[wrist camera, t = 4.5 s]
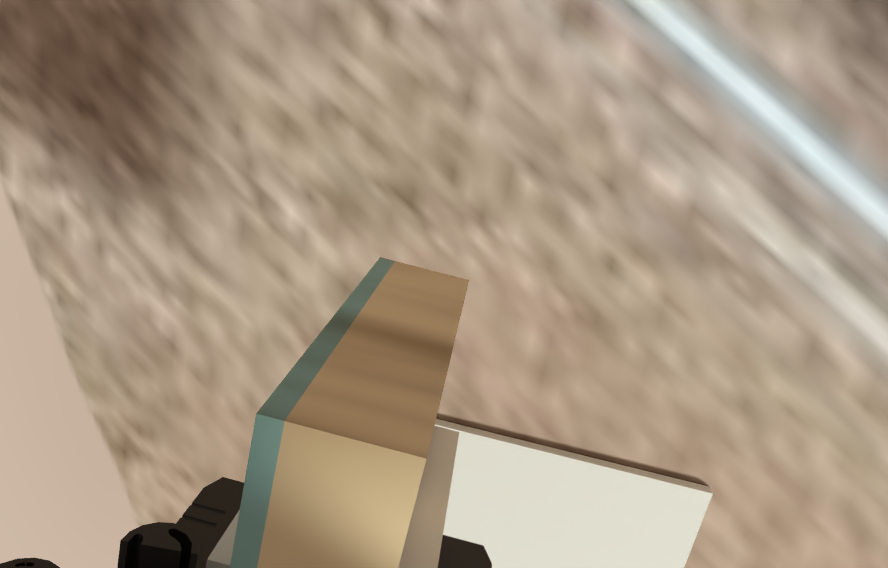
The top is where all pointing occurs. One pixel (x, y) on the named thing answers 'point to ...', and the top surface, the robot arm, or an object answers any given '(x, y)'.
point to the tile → (351, 428)
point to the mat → (567, 507)
